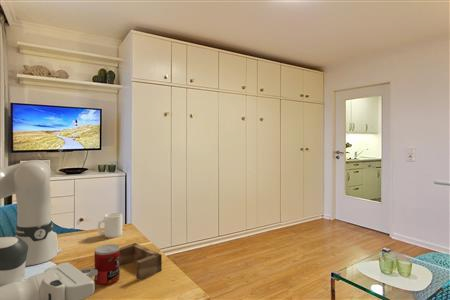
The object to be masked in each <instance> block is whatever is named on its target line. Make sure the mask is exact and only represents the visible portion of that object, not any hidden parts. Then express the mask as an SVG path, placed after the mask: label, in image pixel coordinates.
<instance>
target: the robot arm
mask: <svg viewBox="0 0 450 300" xmlns="http://www.w3.org/2000/svg"><path fill="white" fill-rule="evenodd" d="M51 176H52V168H51V167H50V165H49V164H48V163H47V162H45V161H43V160H41V159H40V160H39V159H31V160H27V161H22V162H20V163H15V164H12V165H9V166H8V165H7V166H5V167H1V168H0V200H1V199H4V198H8V197H10V196H13V195H15V200H16V214H17V215H16V217H17V224H16V226H15V235H12V236H11V235H4V236H3V235H2V236H1V235H0V300H84V299H86V298H89V297H90V296H92V295H93V294H94V293H95V290H96V289H95V287H96V286H95V284H96V282H95V279H94V280H93V279H92V277H95V276H96V275H97V274H98V270H97V269H95V266H91V267H88V268H79V269H78V268H77V267H75V266H74V265H73V264H71V263H70V262H66V261H65V262H61V263H58V264H55V265H53V266H51V267H48V268H46V269H44V271H43V272H41V273H38V274H35V275H32V276H29V277H28V278H26V279H25V273H26V266H27V267H28V266H34V265H40V264H43V263H46V262H48V261H51V260H52V259H54V258H56V256H57V255H58V254H60V253H61V252H62V251H63V250H62V248H61V247H58V245H59V244H58V235H57V234H58V233H57V232H55V231H53V229H54V223H53V220H52V196H51V195H52V194H51Z"/></svg>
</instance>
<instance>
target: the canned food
mask: <svg viewBox="0 0 450 300" xmlns="http://www.w3.org/2000/svg"><path fill="white" fill-rule="evenodd" d="M119 248H120V246H119V244H114V243H113V244H111V243H110V244H109V243H106V244H103V245H99V246H97V247H96V248H95V249H94V268H95V269H97V270H98V274H97V275H96V276H94V283H95V284H96V285H97V286H100V287H101V286H102V287H103V286H107V287H108V286H110V285H111V286H112V285H113V284H116V283H117V282H118V281H119V280H120V276H121V273H120V272H121V269H120V249H119Z"/></svg>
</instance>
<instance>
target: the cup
mask: <svg viewBox="0 0 450 300" xmlns="http://www.w3.org/2000/svg"><path fill="white" fill-rule="evenodd" d="M103 218H104V219H101V220H99V221H98V224H97V232H98V234H99V235H102V236H105V237H106V238H108V239H109V238H111V239H113V238H119V237H120V236H122V234H123V213H121V212H110V213H106V214H105V215H104V217H103ZM102 223H104V227H103V228H104V229H103V230H104V231H102V230H101V225H102Z"/></svg>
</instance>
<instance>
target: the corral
mask: <svg viewBox="0 0 450 300" xmlns="http://www.w3.org/2000/svg"><path fill="white" fill-rule="evenodd" d="M119 249H120V266H123V265H126V264H129V263H132V262H135V263H136V279H137V280H139V281H141V280H144V279H146V278H149V277H151V276H153V275H155V274H157V273H159V272H162V271H163V270H162V269H163V268H162V263H163V260H162V253H159V252H157V251H155V250H152V249H149V248H147V247H145V246H142V245H140V244H138V243H135V242H134V243H131V244H128V245H125V246H122V247H119Z"/></svg>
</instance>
